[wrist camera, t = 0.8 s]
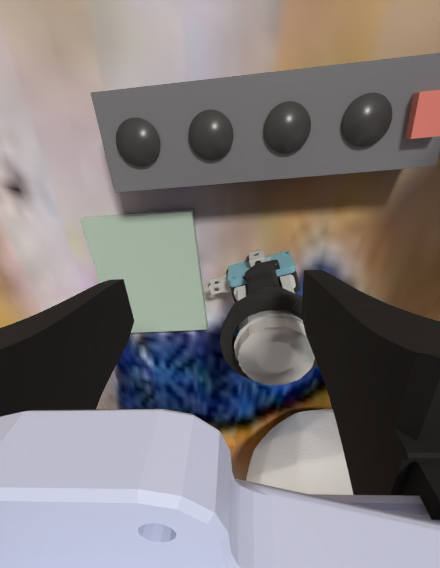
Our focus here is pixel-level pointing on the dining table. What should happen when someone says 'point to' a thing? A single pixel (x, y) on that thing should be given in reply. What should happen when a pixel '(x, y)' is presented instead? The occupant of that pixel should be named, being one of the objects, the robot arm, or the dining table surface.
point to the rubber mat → (152, 266)
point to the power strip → (273, 125)
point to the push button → (265, 320)
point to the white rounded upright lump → (302, 456)
